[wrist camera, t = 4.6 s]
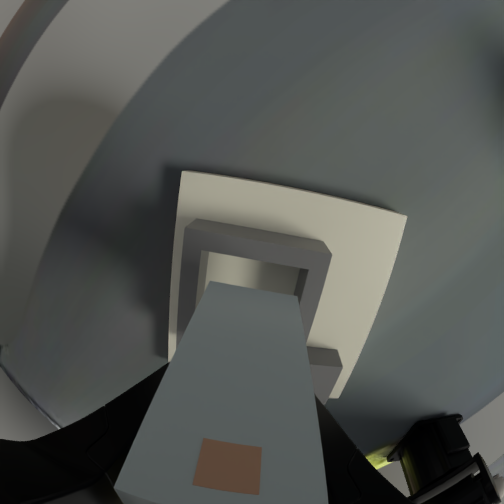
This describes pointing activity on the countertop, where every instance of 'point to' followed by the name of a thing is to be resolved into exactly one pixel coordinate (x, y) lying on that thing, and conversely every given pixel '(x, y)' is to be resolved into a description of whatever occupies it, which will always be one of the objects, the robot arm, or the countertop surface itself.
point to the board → (286, 261)
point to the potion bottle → (499, 485)
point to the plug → (232, 410)
